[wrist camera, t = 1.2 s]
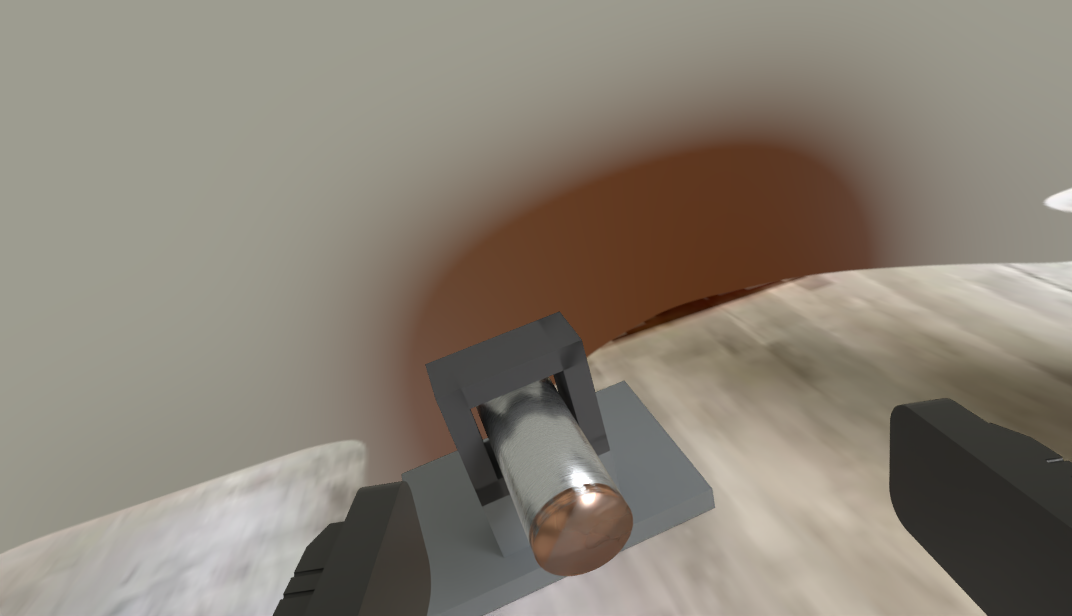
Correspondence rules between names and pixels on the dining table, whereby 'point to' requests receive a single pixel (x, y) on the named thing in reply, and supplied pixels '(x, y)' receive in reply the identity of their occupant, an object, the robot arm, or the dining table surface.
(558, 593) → the dining table surface
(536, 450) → the steel peg
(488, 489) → the rubber collar
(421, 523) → the base plate
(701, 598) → the dining table surface
